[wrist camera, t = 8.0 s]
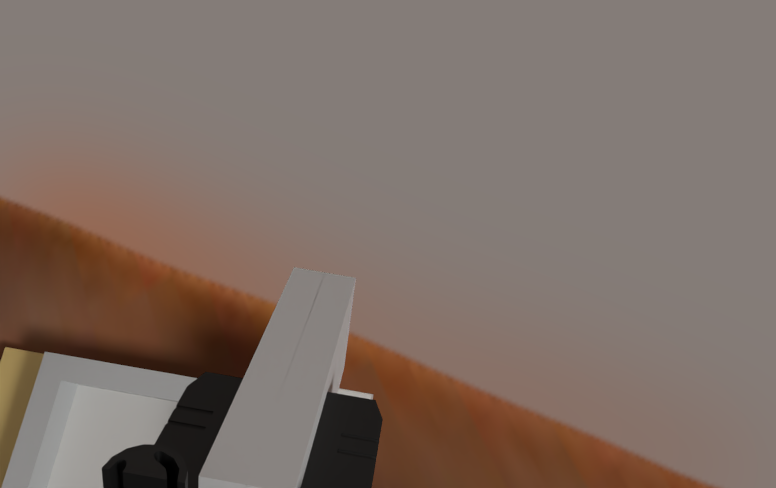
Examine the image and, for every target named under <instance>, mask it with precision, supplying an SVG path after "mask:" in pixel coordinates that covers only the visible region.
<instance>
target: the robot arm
mask: <svg viewBox="0 0 776 488" xmlns="http://www.w3.org/2000/svg"><path fill="white" fill-rule="evenodd" d="M355 281H356V278H353V277H348V276H342V275H336V274H330V273H325V272H319V271H313V270H306V269H301V268H295V267H294V268H293V271H292V273H291V275H290V277H289V279H288V282H287V284H286V286H285V288H284V291H283V293H282V295H281V297H280V299H279V301H278V303H277V306H276V308H275V310H274V312H273V314H272V317H271V319H270V321H269V323H268V325H267V328H266V330H265V332H264V334H263V336H262V338H261V341H260V343H259V345H258V347H257V349H256V352H255V354H254V356H253V358H252V360H251V363H250V365H249V367H248V369H247V371H246V373H245V376H244V378H238V377H232V376H227V375H221V374H215V373H210V372H205V373H204V374H203V375H201V376H200V377H199V378H197V379H196V380H195V381H193V382H192V383H191V384H189V385H188V386H187V387H186V389H185V391H184V393H183V394H182V396H181V398H180V400H179V401H178V403H177V405H176V409H174V410H173V412H172V414H171V416H170V417H169V419H168V423H167V424H166V425H165V426H164V428H163V430H162V432H161V433H160V435H159V437H158V439H157V441H156V442H155V444H154V445H152V444H143V445H139V446H134V447H130V448H127V449H125V450H123V451H121V452H120V453H118V454H116V455H114V456H112V457H111V458H110V459H109V461H108V462H107V463H106V464H105V465H104V466H103V467H102V479H103V488H371V487H372V481H373V475H374V468H375V462H376V456H377V450H378V444H379V438H380V432H381V425H382V417H381V414H380V411H379V409H378V406H377V403H376V401H375V400H372V399H366V398H360V397H355V396H349V395H343V394H338V389H339V385H340V382H341V378H342V374H343V370H344V364H345V357H346V349H347V342H348V334H349V326H350V319H351V311H352V303H353V296H354V288H355Z"/></svg>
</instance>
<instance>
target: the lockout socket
mask: <svg viewBox="0 0 776 488" xmlns="http://www.w3.org/2000/svg"><path fill="white" fill-rule="evenodd" d="M196 379H197V378H193V377H187V376H181V375H176V374H170V373H164V372H159V371H153V370H147V369H142V368H136V367H130V366H124V365H119V364H113V363H107V362H102V361H96V360H90V359H85V358H79V357H73V356H67V355H62V354H56V353H50V352H45V353H44V354H42V353H36V352H31V351H25V350H19V349H14V348H8V347H5V349H4V352H3V355H2V358H1V361H0V488H103V479H102V467H103V466H104V465H105V464H106V463H107V462H108V461H109V459H110V458H111V457H112V456H114V455H116V454H118V453H120V452H121V451H123V450H125V449H127V448H130V447H134V446H139V445H143V444H152V445H154V444H155V442H156V441H157V439H158V437H159V435H160V433H161V432H162V430H163V428H164V426H165V425H166V424H167V423H168V419H169V417H170V416H171V414H172V412H173V410H174V409H176V405H177V403H178V401H179V400H180V398H181V396H182V394H183V393H184V391H185V389H186V387H187V386H188V385H189V384H191V383H192V382H193V381H195V380H196Z"/></svg>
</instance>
